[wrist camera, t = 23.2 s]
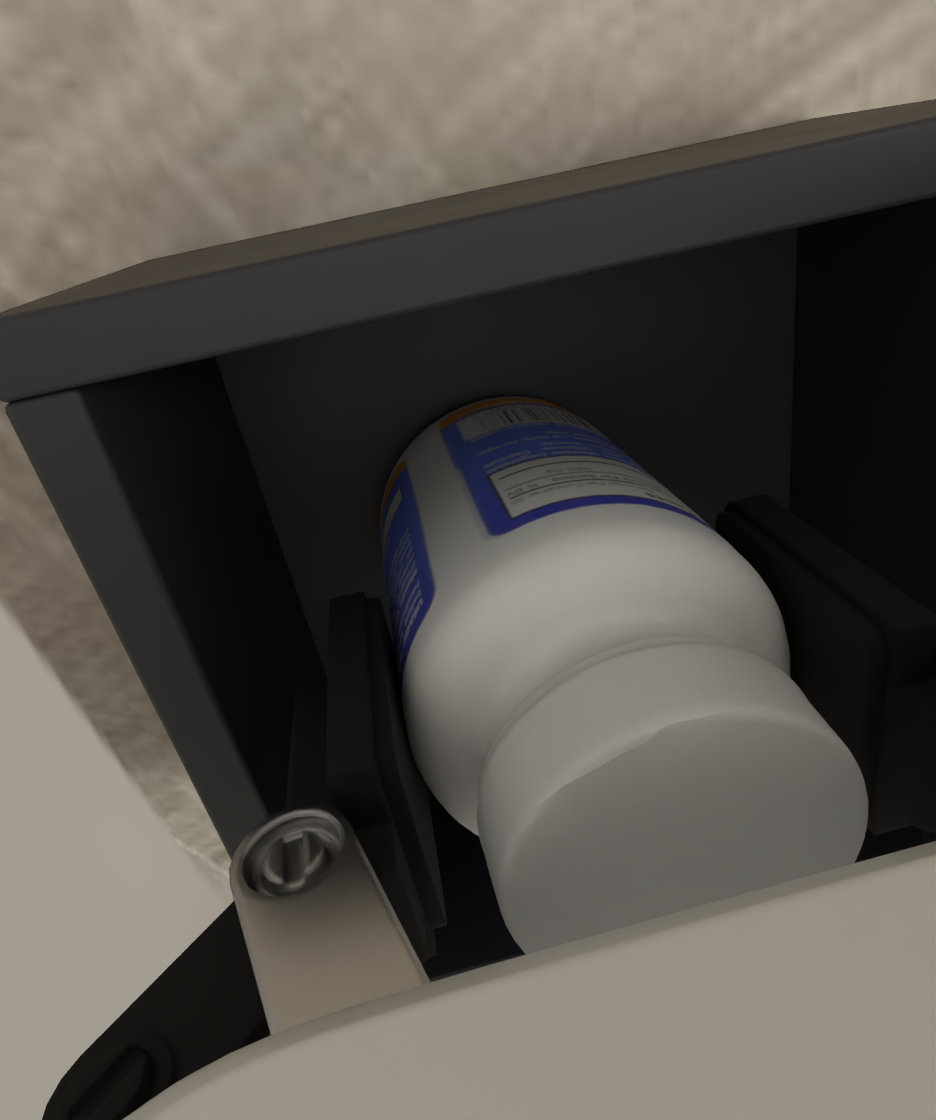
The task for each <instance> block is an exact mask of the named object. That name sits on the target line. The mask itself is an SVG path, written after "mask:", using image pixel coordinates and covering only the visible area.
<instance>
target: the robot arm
mask: <svg viewBox="0 0 936 1120" xmlns="http://www.w3.org/2000/svg"><path fill="white" fill-rule="evenodd" d="M716 532H717V533H718V534H719V535H721V536H722V537H723V538H724V539H725V540H726V541H727V542H728V543H729V544H730V545H731V546H732V547H733V548H734V549H735V550H736V551H737V552H738V553H739V554H740V555H741V556H742V557H744V558H745V559H746V560H747V561H748V562H749V563H750V565H751V566H752V567H753V568H754V569H755V570H756V571H757V573H758V574H759V575H760V576H761V578H762V579H763V581H764V582H765V584H766V585H767V587H768V588H769V590H770V591H771V593H772V595H773V597H774V599H775V601H776V603H777V605H778V607H779V609H780V612H781V615H782V618H783V621H784V626H785V630H786V635H787V639H788V644H789V650H790V678H791V679H792V680H793V681H794V682H795V683H796V684H797V685H798V687H799V688H800V689H801V691H802V692H803V694H804V695H805V696H806V698H807V699H808V701H809V702H810V704H811V705H812V706H813V707H814V708H815V709H816V711H817V712H818V713H819V714H820V715H821V717H822V718H823V719H824V720H825V721H826V722H827V724H828V725H829V726H830V727H831V728H832V730H833V731H834V732H835V733H836V734H837V735H838V737H839V738H840V739H841V740H842V741H843V743H844V744H845V745H846V746H847V748H848V749H849V750H850V752H851V753H852V755H853V757H854V759H855V760H856V762H857V764H858V766H859V768H860V770H861V773H862V775H863V778H864V781H865V786H866V792H867V797H868V821H867V827H868V829H869V830H870V831H871V832H872V833H873V835H874V836H875V835H879V834H882V833H886V832H890V831H893V830H897V829H901V828H904V827H908V826H914V827H917V828H920V829H921V833H922V837H923V841H924V844H923V845H919V846H915V847H912V848H908V849H905V850H901V851H897V852H894V853H890V854H886V855H883V856H879V857H875V858H872V859H868V860H864V861H861V862H857V863H853V864H850V865H846V866H843V867H839V868H835V869H832V870H828V871H824V872H821V873H817V874H813V875H810V876H806V877H802V878H799V879H795V880H792V881H788V882H784V883H781V884H777V885H773V886H770V887H766V888H763V889H759V890H755V891H752V892H748V893H744V894H741V895H737V896H734V897H730V898H726V899H723V900H719V901H716V902H712V903H708V904H705V905H701V906H697V907H694V908H690V909H687V910H683V911H679V912H676V913H672V914H669V915H665V916H662V917H658V918H654V919H651V920H647V921H644V922H640V923H637V924H633V925H630V926H626V927H622V928H619V929H615V930H612V931H608V932H605V933H601V934H598V935H594V936H591V937H587V938H583V939H580V940H576V941H573V942H569V943H566V944H562V945H559V946H555V947H551V948H548V949H544V950H541V951H537V952H534V953H530V954H527V955H523V956H519V957H516V958H512V959H509V960H505V961H502V962H498V963H495V964H491V965H487V966H484V967H480V968H477V969H474V970H470V971H467V972H464V973H460V974H457V975H454V976H450V977H447V978H444V979H440V980H437V981H434V982H430V980H429V978H428V976H427V974H426V972H425V970H424V968H423V964H424V963H425V961H426V960H427V959H428V958H429V957H432V956H436V955H437V952H436V945H435V937H434V928H438V927H442V926H446V925H447V918H446V910H445V904H444V897H443V891H442V884H441V877H440V871H439V864H438V858H437V851H436V844H435V838H434V831H433V825H432V818H431V811H430V805H429V798H428V792H427V785H426V782H425V780H424V779H423V777H422V775H421V773H420V771H419V769H418V766H417V764H416V762H415V759H414V757H413V754H412V751H411V748H410V745H409V740H408V735H407V730H406V724H405V719H404V714H403V709H402V704H401V697H400V689H399V682H398V674H397V666H396V659H395V651H394V646H393V643H392V639H391V636H390V632H389V629H388V625H387V622H386V618H385V615H384V611H383V608H382V605H381V601H380V598H379V596H378V597H374V598H370V599H367V598H366V595H365V593H364V591H361V592H357V593H353V594H348V595H344V596H340V597H336V598H332V599H330V600H329V633H328V683H324V684H320V685H316V686H312V687H308V688H304V689H300V690H298V691H297V692H296V694H295V699H294V711H293V723H292V735H291V747H290V759H289V771H288V783H287V794H286V806H285V809H284V810H282V811H279V812H277V813H275V814H273V815H272V816H270V817H268V818H267V819H265V820H264V821H262V822H261V823H259V824H258V825H257V826H256V827H255V828H254V829H253V830H252V831H251V832H250V833H249V834H248V835H247V836H246V837H245V838H244V839H243V841H242V842H241V844H240V845H239V847H238V848H237V850H236V851H235V853H234V856H233V859H232V862H231V865H230V868H229V874H230V887H231V890H232V894H233V898H234V901H233V903H232V904H231V905H230V906H229V907H228V908H227V909H226V910H225V911H224V912H223V913H222V914H221V915H220V916H219V917H218V918H217V919H216V920H215V921H214V922H213V923H212V924H211V925H210V926H209V927H208V928H207V929H206V930H205V931H204V932H203V933H202V934H201V935H200V936H199V937H198V938H197V939H196V940H195V941H194V942H193V943H192V944H191V945H190V946H189V947H188V948H187V949H186V950H185V951H184V952H183V953H182V954H181V955H180V956H179V957H178V958H177V959H176V960H175V961H174V962H173V963H172V964H171V965H170V966H169V967H168V968H167V969H166V970H165V971H164V972H163V973H162V974H161V975H160V976H159V977H158V978H157V979H156V980H155V981H154V982H153V983H152V985H150V986H149V987H148V988H147V989H146V990H145V991H144V992H143V993H142V994H141V995H140V996H139V998H137V999H136V1001H134V1002H133V1003H132V1005H130V1007H129V1008H128V1009H127V1010H126V1011H125V1012H124V1013H123V1014H122V1015H121V1016H120V1017H119V1018H118V1019H117V1020H116V1021H115V1022H114V1023H113V1024H112V1025H111V1026H110V1027H109V1028H108V1029H107V1030H106V1031H105V1032H104V1033H103V1034H102V1035H101V1036H100V1037H99V1038H98V1039H97V1040H96V1041H95V1042H94V1043H93V1044H92V1045H91V1046H90V1047H89V1048H88V1049H87V1050H86V1051H85V1052H84V1053H83V1054H82V1055H81V1056H80V1058H78V1060H77V1061H76V1062H75V1063H74V1064H73V1066H72V1067H71V1068H70V1069H69V1070H68V1072H67V1073H66V1074H65V1075H64V1077H63V1078H62V1079H61V1081H60V1082H59V1084H58V1086H57V1088H56V1090H55V1091H54V1093H53V1095H52V1096H51V1098H50V1100H49V1102H48V1104H47V1106H46V1109H45V1112H44V1115H43V1118H42V1120H936V615H935V614H934V613H933V612H931V611H930V610H928V609H927V608H926V607H924V606H923V605H921V604H920V603H918V602H917V601H916V600H914V599H913V598H911V597H910V596H909V595H907V594H906V593H904V592H903V591H901V590H900V589H899V588H897V587H896V586H894V585H893V584H892V583H890V582H889V581H887V580H886V579H884V578H883V577H882V576H880V575H879V574H877V573H876V572H875V571H873V570H872V569H870V568H869V567H867V566H866V565H865V564H863V563H862V562H860V561H859V560H858V559H856V558H855V557H853V556H852V555H850V554H849V553H848V552H846V551H845V550H843V549H842V548H841V547H839V546H838V545H836V544H835V543H833V542H832V541H831V540H829V539H828V538H826V537H825V536H824V535H822V534H821V533H819V532H818V531H816V530H815V529H814V528H812V527H811V526H809V525H808V524H807V523H805V522H804V521H802V520H801V519H799V518H798V517H797V516H795V515H794V514H792V513H791V512H790V511H788V510H787V509H785V508H784V507H782V506H781V505H780V504H778V503H777V502H775V501H774V500H773V499H771V498H770V497H768V496H767V495H764V494H761V495H756V496H752V497H748V498H744V499H740V500H735V501H731V502H728V503H727V505H726V507H725V510H724V512H723V513H719V514H718V515H717V517H716Z"/></svg>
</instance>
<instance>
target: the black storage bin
mask: <svg viewBox="0 0 936 1120" xmlns="http://www.w3.org/2000/svg"><path fill="white" fill-rule="evenodd" d="M506 396H521V397H531V398H536V399H541V400H545V401H548V402H552V403H554V404H557V405H559V406H561V407H564V408H566V409H568V410H570V411H571V412H573V413H575V414H577V415H579V416H580V417H582V418H583V419H585V420H586V421H588V422H589V423H590V424H591V425H593V426H594V427H595V428H596V429H598V430H599V431H600V432H601V433H602V434H603V435H605V436H606V437H607V438H608V439H609V440H610V441H612V442H613V443H614V444H615V445H616V446H618V447H619V448H620V449H621V450H622V451H623V452H625V453H626V454H627V455H628V456H629V457H631V458H632V459H633V460H634V461H635V462H636V463H637V464H639V465H640V466H641V467H642V468H643V469H644V470H646V471H647V472H648V473H649V474H650V475H651V476H653V477H654V478H655V479H656V480H657V481H658V482H660V483H661V484H662V485H663V486H664V487H666V488H667V489H668V490H669V491H670V492H671V493H672V494H673V495H675V496H676V497H677V498H678V499H679V500H680V501H682V502H683V503H684V504H685V505H686V506H688V507H689V508H690V509H691V510H692V511H693V512H695V513H696V514H697V515H698V516H699V517H700V518H701V519H702V520H704V521H705V522H706V523H707V524H708V525H709V526H710V527H711V528H712V529H714V530H715V531H716V517H717V515H718V514H719V513H723V512H724V510H725V507H726V505H727V503H728V502H731V501H735V500H740V499H744V498H748V497H752V496H756V495H761V494H764V495H767V496H768V497H770V498H771V499H773V500H774V501H775V502H777V503H778V504H780V505H781V506H782V507H784V508H785V509H787V510H788V511H790V512H791V513H792V514H794V515H795V516H797V517H798V518H799V519H801V520H802V521H804V522H805V523H807V524H808V525H809V526H811V527H812V528H814V529H815V530H816V531H818V532H819V533H821V534H822V535H824V536H825V537H826V538H828V539H829V540H831V541H832V542H833V543H835V544H836V545H838V546H839V547H841V548H842V549H843V550H845V551H846V552H848V553H849V554H850V555H852V556H853V557H855V558H856V559H858V560H859V561H860V562H862V563H863V564H865V565H866V566H867V567H869V568H870V569H872V570H873V571H875V572H876V573H877V574H879V575H880V576H882V577H883V578H884V579H886V580H887V581H889V582H890V583H892V584H893V585H894V586H896V587H897V588H899V589H900V590H901V591H903V592H904V593H906V594H907V595H909V596H910V597H911V598H913V599H914V600H916V601H917V602H918V603H920V604H921V605H923V606H924V607H926V608H927V609H928V610H930V611H931V612H933V613H934V614H935V615H936V99H934V100H928V101H922V102H915V103H909V104H902V105H896V106H890V107H883V108H877V109H871V110H864V111H858V112H852V113H845V114H839V115H832V116H826V117H820V118H814V119H809V120H804V121H799V122H795V123H790V124H785V125H781V126H776V127H771V128H767V129H762V130H757V131H752V132H748V133H743V134H738V135H734V136H729V137H724V138H720V139H715V140H710V141H706V142H701V143H696V144H691V145H687V146H682V147H677V148H673V149H668V150H663V151H659V152H654V153H649V154H644V155H640V156H635V157H630V158H626V159H621V160H616V161H612V162H607V163H602V164H598V165H593V166H588V167H583V168H579V169H574V170H569V171H565V172H560V173H555V174H551V175H546V176H541V177H537V178H532V179H527V180H522V181H518V182H513V183H508V184H504V185H499V186H494V187H490V188H485V189H480V190H475V191H471V192H466V193H461V194H457V195H452V196H447V197H443V198H438V199H433V200H429V201H424V202H419V203H414V204H410V205H405V206H400V207H396V208H391V209H386V210H382V211H377V212H372V213H367V214H363V215H358V216H353V217H349V218H344V219H339V220H335V221H330V222H325V223H321V224H316V225H311V226H306V227H302V228H297V229H292V230H288V231H283V232H278V233H274V234H269V235H264V236H260V237H255V238H250V239H245V240H241V241H236V242H231V243H227V244H222V245H217V246H213V247H208V248H203V249H198V250H194V251H189V252H184V253H180V254H175V255H170V256H166V257H161V258H156V259H152V260H148V261H145V262H142V263H139V264H137V265H134V266H131V267H128V268H125V269H122V270H120V271H117V272H114V273H111V274H108V275H106V276H103V277H100V278H97V279H94V280H91V281H89V282H86V283H83V284H80V285H77V286H74V287H72V288H69V289H66V290H63V291H60V292H57V293H55V294H52V295H49V296H46V297H43V298H40V299H38V300H35V301H32V302H29V303H26V304H24V305H21V306H18V307H15V308H12V309H9V310H7V311H4V312H1V313H0V400H1V401H2V402H10V403H8V404H7V405H6V407H5V409H6V414H7V416H8V418H9V420H10V422H11V424H12V426H13V428H14V430H15V431H16V433H17V435H18V437H19V439H20V441H21V443H22V445H23V447H24V449H25V451H26V453H27V455H28V457H29V459H30V461H31V463H32V465H33V467H34V469H35V471H36V473H37V475H38V477H39V479H40V481H41V483H42V485H43V487H44V489H45V491H46V493H47V495H48V497H49V499H50V501H51V503H52V505H53V507H54V509H55V511H56V513H57V515H58V517H59V519H60V521H61V523H62V525H63V527H64V529H65V531H66V533H67V535H68V537H69V539H70V541H71V543H72V545H73V547H74V549H75V551H76V553H77V555H78V557H79V559H80V560H81V562H82V564H83V566H84V568H85V570H86V572H87V574H88V576H89V578H90V580H91V582H92V584H93V586H94V588H95V590H96V592H97V594H98V596H99V598H100V600H101V602H102V604H103V606H104V608H105V610H106V612H107V614H108V616H109V618H110V620H111V622H112V624H113V626H114V628H115V630H116V632H117V634H118V636H119V638H120V640H121V642H122V644H123V646H124V648H125V650H126V652H127V654H128V656H129V658H130V660H131V662H132V664H133V666H134V668H135V670H136V672H137V674H138V676H139V678H140V680H141V682H142V684H143V686H144V687H145V689H146V691H147V693H148V695H149V697H150V699H151V701H152V703H153V705H154V707H155V709H156V711H157V713H158V715H159V717H160V719H161V721H162V723H163V725H164V727H165V729H166V731H167V733H168V735H169V737H170V739H171V741H172V743H173V745H174V747H175V749H176V751H177V753H178V755H179V757H180V759H181V761H182V763H183V765H184V767H185V769H186V771H187V773H188V775H189V777H190V779H191V781H192V783H193V785H194V787H195V789H196V791H197V793H198V795H199V797H200V799H201V801H202V803H203V805H204V807H205V809H206V811H207V813H208V815H209V816H210V818H211V820H212V822H213V824H214V826H215V828H216V830H217V832H218V834H219V836H220V838H221V840H222V842H223V844H224V846H225V848H226V850H227V852H228V854H229V856H230V858H231V860H232V859H233V856H234V853H235V851H236V850H237V848H238V847H239V845H240V844H241V842H242V841H243V839H244V838H245V837H246V836H247V835H248V834H249V833H250V832H251V831H252V830H253V829H254V828H255V827H256V826H257V825H258V824H259V823H261V822H262V821H264V820H265V819H267V818H268V817H270V816H272V815H273V814H275V813H277V812H279V811H282V810H284V809H285V806H286V794H287V783H288V771H289V759H290V747H291V735H292V723H293V711H294V699H295V694H296V692H297V691H298V690H300V689H304V688H308V687H312V686H316V685H320V684H324V683H328V633H329V600H330V599H332V598H336V597H340V596H344V595H348V594H353V593H357V592H361V591H364V593H365V595H366V598H367V599H370V598H374V597H378V596H379V598H380V601H381V605H382V608H383V611H384V615H385V618H386V622H387V625H388V629H389V632H390V636H391V639H392V643H393V646H394V642H393V634H392V625H391V617H390V610H389V602H388V595H387V587H386V580H385V572H384V565H383V556H382V548H381V541H380V517H381V506H382V500H383V496H384V491H385V488H386V485H387V482H388V479H389V477H390V475H391V472H392V470H393V468H394V466H395V465H396V463H397V461H398V460H399V458H400V456H401V455H402V454H403V452H404V451H405V450H406V449H407V447H408V446H409V445H410V444H411V442H412V441H413V440H414V439H415V438H416V437H417V436H418V435H419V434H420V433H421V432H422V431H424V430H425V429H426V428H427V427H429V426H430V425H431V424H433V423H434V422H436V421H437V420H439V419H440V418H442V417H443V416H445V415H446V414H448V413H450V412H452V411H454V410H456V409H458V408H460V407H463V406H465V405H468V404H471V403H474V402H477V401H480V400H485V399H489V398H495V397H506ZM426 785H427V784H426ZM427 792H428V798H429V805H430V811H431V818H432V825H433V831H434V838H435V844H436V851H437V858H438V864H439V871H440V877H441V884H442V891H443V897H444V904H445V910H446V918H447V925H446V926H442V927H438V928H434V937H435V945H436V952H437V955H436V956H432V957H429V958H428V959H427V960H426V961H425V963H424V964H423V968H424V970H425V972H426V974H427V976H428V978H429V980H430V982H434V981H437V980H440V979H444V978H447V977H450V976H454V975H457V974H460V973H464V972H467V971H470V970H474V969H477V968H480V967H484V966H487V965H491V964H495V963H498V962H502V961H505V960H509V959H512V958H516V957H519V956H523V955H526V954H525V953H524V952H523V950H522V949H521V948H520V947H519V946H518V944H517V943H516V942H515V940H514V939H513V937H512V935H511V933H510V932H509V930H508V928H507V926H506V924H505V922H504V919H503V916H502V914H501V911H500V908H499V905H498V901H497V898H496V894H495V891H494V887H493V884H492V880H491V877H490V873H489V870H488V866H487V862H486V858H485V854H484V852H483V848H482V845H481V842H480V838H479V836H478V835H476V834H474V833H473V832H472V831H470V830H469V829H467V828H466V827H464V826H463V825H462V824H460V823H459V822H458V821H457V820H456V819H455V818H453V817H452V816H451V815H450V814H449V813H448V812H447V811H446V809H445V808H444V807H443V806H442V804H441V803H440V802H439V801H438V800H437V799H436V797H435V796H434V794H433V793H432V792H431V790H430V789H429V787H428V786H427ZM923 844H924V841H923V837H922V833H921V829H920V828H917V827H914V826H908V827H904V828H901V829H897V830H893V831H890V832H886V833H882V834H879V835H875V836H874V835H873V833H872V832H871V831H870V830H869V829H868V827H867V829H866V832H865V838H864V841H863V844H862V847H861V849H860V852H859V854H858V856H857V859H856V861H855V863H857V862H861V861H864V860H868V859H872V858H875V857H879V856H883V855H886V854H890V853H894V852H897V851H901V850H905V849H908V848H912V847H915V846H919V845H923Z"/></svg>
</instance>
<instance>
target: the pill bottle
mask: <svg viewBox="0 0 936 1120" xmlns="http://www.w3.org/2000/svg"><path fill="white" fill-rule="evenodd" d="M380 541H381V548H382V556H383V565H384V572H385V580H386V587H387V595H388V602H389V610H390V617H391V625H392V634H393V642H394V651H395V659H396V666H397V674H398V682H399V689H400V697H401V704H402V709H403V714H404V719H405V724H406V730H407V735H408V740H409V745H410V748H411V751H412V754H413V757H414V759H415V762H416V764H417V766H418V769H419V771H420V773H421V775H422V777H423V779H424V780H425V782H426V784H427V786H428V787H429V789H430V790H431V792H432V793H433V794H434V796H435V797H436V799H437V800H438V801H439V802H440V803H441V804H442V806H443V807H444V808H445V809H446V811H447V812H448V813H449V814H450V815H451V816H452V817H453V818H455V819H456V820H457V821H458V822H459V823H460V824H462V825H463V826H464V827H466V828H467V829H469V830H470V831H472V832H473V833H474V834H476V835H478V836H479V838H480V842H481V845H482V848H483V852H484V854H485V858H486V862H487V866H488V870H489V873H490V877H491V880H492V884H493V887H494V891H495V894H496V898H497V901H498V905H499V908H500V911H501V914H502V916H503V919H504V922H505V924H506V926H507V928H508V930H509V932H510V933H511V935H512V937H513V939H514V940H515V942H516V943H517V944H518V946H519V947H520V948H521V949H522V950H523V952H524V953H525V954H526V955H527V954H530V953H534V952H537V951H541V950H544V949H548V948H551V947H555V946H559V945H562V944H566V943H569V942H573V941H576V940H580V939H583V938H587V937H591V936H594V935H598V934H601V933H605V932H608V931H612V930H615V929H619V928H622V927H626V926H630V925H633V924H637V923H640V922H644V921H647V920H651V919H654V918H658V917H662V916H665V915H669V914H672V913H676V912H679V911H683V910H687V909H690V908H694V907H697V906H701V905H705V904H708V903H712V902H716V901H719V900H723V899H726V898H730V897H734V896H737V895H741V894H744V893H748V892H752V891H755V890H759V889H763V888H766V887H770V886H773V885H777V884H781V883H784V882H788V881H792V880H795V879H799V878H802V877H806V876H810V875H813V874H817V873H821V872H824V871H828V870H832V869H835V868H839V867H843V866H846V865H850V864H853V863H855V861H856V859H857V856H858V854H859V852H860V849H861V847H862V844H863V841H864V838H865V832H866V829H867V821H868V797H867V792H866V786H865V781H864V778H863V775H862V773H861V770H860V768H859V766H858V764H857V762H856V760H855V759H854V757H853V755H852V753H851V752H850V750H849V749H848V748H847V746H846V745H845V744H844V743H843V741H842V740H841V739H840V738H839V737H838V735H837V734H836V733H835V732H834V731H833V730H832V728H831V727H830V726H829V725H828V724H827V722H826V721H825V720H824V719H823V718H822V717H821V715H820V714H819V713H818V712H817V711H816V709H815V708H814V707H813V706H812V705H811V704H810V702H809V701H808V699H807V698H806V696H805V695H804V694H803V692H802V691H801V689H800V688H799V687H798V685H797V684H796V683H795V682H794V681H793V680H792V679H791V678H790V650H789V644H788V639H787V635H786V630H785V626H784V621H783V618H782V615H781V612H780V609H779V607H778V605H777V603H776V601H775V599H774V597H773V595H772V593H771V591H770V590H769V588H768V587H767V585H766V584H765V582H764V581H763V579H762V578H761V576H760V575H759V574H758V573H757V571H756V570H755V569H754V568H753V567H752V566H751V565H750V563H749V562H748V561H747V560H746V559H745V558H744V557H742V556H741V555H740V554H739V553H738V552H737V551H736V550H735V549H734V548H733V547H732V546H731V545H730V544H729V543H728V542H727V541H726V540H725V539H724V538H723V537H722V536H721V535H719V534H718V533H717V532H716V531H715V530H714V529H712V528H711V527H710V526H709V525H708V524H707V523H706V522H705V521H704V520H702V519H701V518H700V517H699V516H698V515H697V514H696V513H695V512H693V511H692V510H691V509H690V508H689V507H688V506H686V505H685V504H684V503H683V502H682V501H680V500H679V499H678V498H677V497H676V496H675V495H673V494H672V493H671V492H670V491H669V490H668V489H667V488H666V487H664V486H663V485H662V484H661V483H660V482H658V481H657V480H656V479H655V478H654V477H653V476H651V475H650V474H649V473H648V472H647V471H646V470H644V469H643V468H642V467H641V466H640V465H639V464H637V463H636V462H635V461H634V460H633V459H632V458H631V457H629V456H628V455H627V454H626V453H625V452H623V451H622V450H621V449H620V448H619V447H618V446H616V445H615V444H614V443H613V442H612V441H610V440H609V439H608V438H607V437H606V436H605V435H603V434H602V433H601V432H600V431H599V430H598V429H596V428H595V427H594V426H593V425H591V424H590V423H589V422H588V421H586V420H585V419H583V418H582V417H580V416H579V415H577V414H575V413H573V412H571V411H570V410H568V409H566V408H564V407H561V406H559V405H557V404H554V403H552V402H548V401H545V400H541V399H536V398H531V397H521V396H506V397H495V398H489V399H485V400H480V401H477V402H474V403H471V404H468V405H465V406H463V407H460V408H458V409H456V410H454V411H452V412H450V413H448V414H446V415H445V416H443V417H442V418H440V419H439V420H437V421H436V422H434V423H433V424H431V425H430V426H429V427H427V428H426V429H425V430H424V431H422V432H421V433H420V434H419V435H418V436H417V437H416V438H415V439H414V440H413V441H412V442H411V444H410V445H409V446H408V447H407V449H406V450H405V451H404V452H403V454H402V455H401V456H400V458H399V460H398V461H397V463H396V465H395V466H394V468H393V470H392V472H391V475H390V477H389V479H388V482H387V485H386V488H385V491H384V496H383V500H382V506H381V517H380Z"/></svg>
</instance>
